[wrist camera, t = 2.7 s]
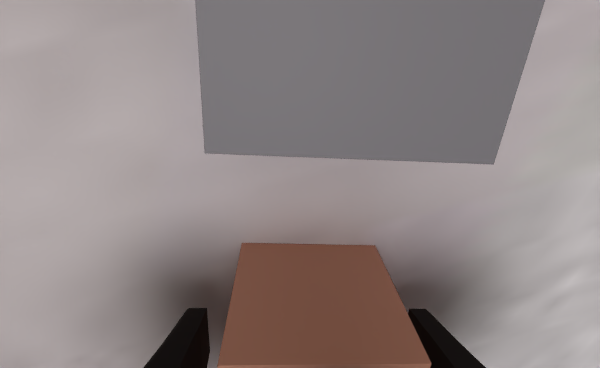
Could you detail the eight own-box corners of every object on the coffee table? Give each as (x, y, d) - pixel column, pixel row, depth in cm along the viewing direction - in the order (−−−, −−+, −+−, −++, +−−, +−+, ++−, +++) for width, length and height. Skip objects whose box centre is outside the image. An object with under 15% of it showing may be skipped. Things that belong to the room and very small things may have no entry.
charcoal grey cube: (397, 112, 10) (493, 164, 6) (240, 104, 10) (204, 153, 5) (431, -82, 8) (622, -246, 4) (237, -101, 8) (176, -308, 3)
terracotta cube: (357, 339, 14) (394, 480, 9) (243, 340, 14) (224, 486, 9) (374, 244, 12) (431, 363, 8) (242, 241, 12) (217, 365, 7)
